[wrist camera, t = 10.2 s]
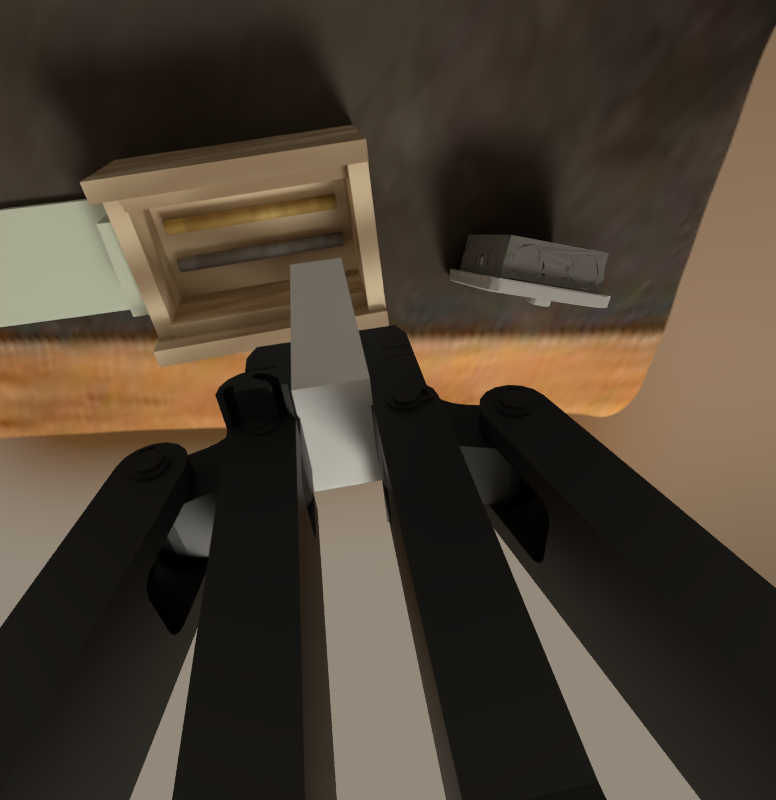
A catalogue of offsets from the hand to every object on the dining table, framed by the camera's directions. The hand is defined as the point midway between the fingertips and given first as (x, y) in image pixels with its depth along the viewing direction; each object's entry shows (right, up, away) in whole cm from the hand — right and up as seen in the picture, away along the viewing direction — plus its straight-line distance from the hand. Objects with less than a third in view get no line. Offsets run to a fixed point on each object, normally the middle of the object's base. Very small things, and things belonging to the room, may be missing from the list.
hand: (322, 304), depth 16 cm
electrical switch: (+12, +9, +27) cm, 30 cm away
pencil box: (-8, +10, +22) cm, 25 cm away
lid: (-23, +7, +22) cm, 32 cm away
